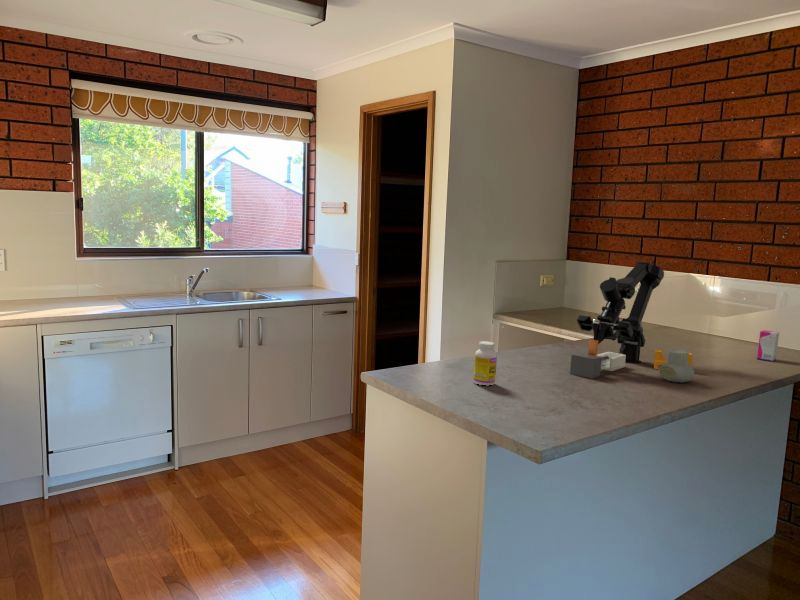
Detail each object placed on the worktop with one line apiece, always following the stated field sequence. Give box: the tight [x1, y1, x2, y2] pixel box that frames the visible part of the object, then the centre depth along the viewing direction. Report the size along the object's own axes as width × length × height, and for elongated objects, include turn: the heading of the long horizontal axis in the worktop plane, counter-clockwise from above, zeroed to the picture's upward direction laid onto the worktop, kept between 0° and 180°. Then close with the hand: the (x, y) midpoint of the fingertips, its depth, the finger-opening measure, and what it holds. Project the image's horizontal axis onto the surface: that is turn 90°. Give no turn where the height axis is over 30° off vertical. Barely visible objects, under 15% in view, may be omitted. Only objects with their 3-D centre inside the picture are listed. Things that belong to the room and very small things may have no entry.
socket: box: [569, 352, 602, 380], centre depth 211 cm, size 6×8×7 cm
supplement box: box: [756, 330, 780, 363], centre depth 251 cm, size 6×6×12 cm
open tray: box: [597, 351, 626, 372], centre depth 224 cm, size 10×7×4 cm, turn 137°
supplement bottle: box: [473, 340, 498, 387], centre depth 193 cm, size 7×7×13 cm
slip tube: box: [587, 338, 610, 367], centre depth 215 cm, size 16×4×10 cm, turn 137°
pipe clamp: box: [653, 349, 693, 371], centre depth 225 cm, size 12×4×6 cm, turn 74°
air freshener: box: [658, 349, 696, 384], centre depth 209 cm, size 11×8×10 cm
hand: (595, 345), depth 214 cm, fingers closed, pressing on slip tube
